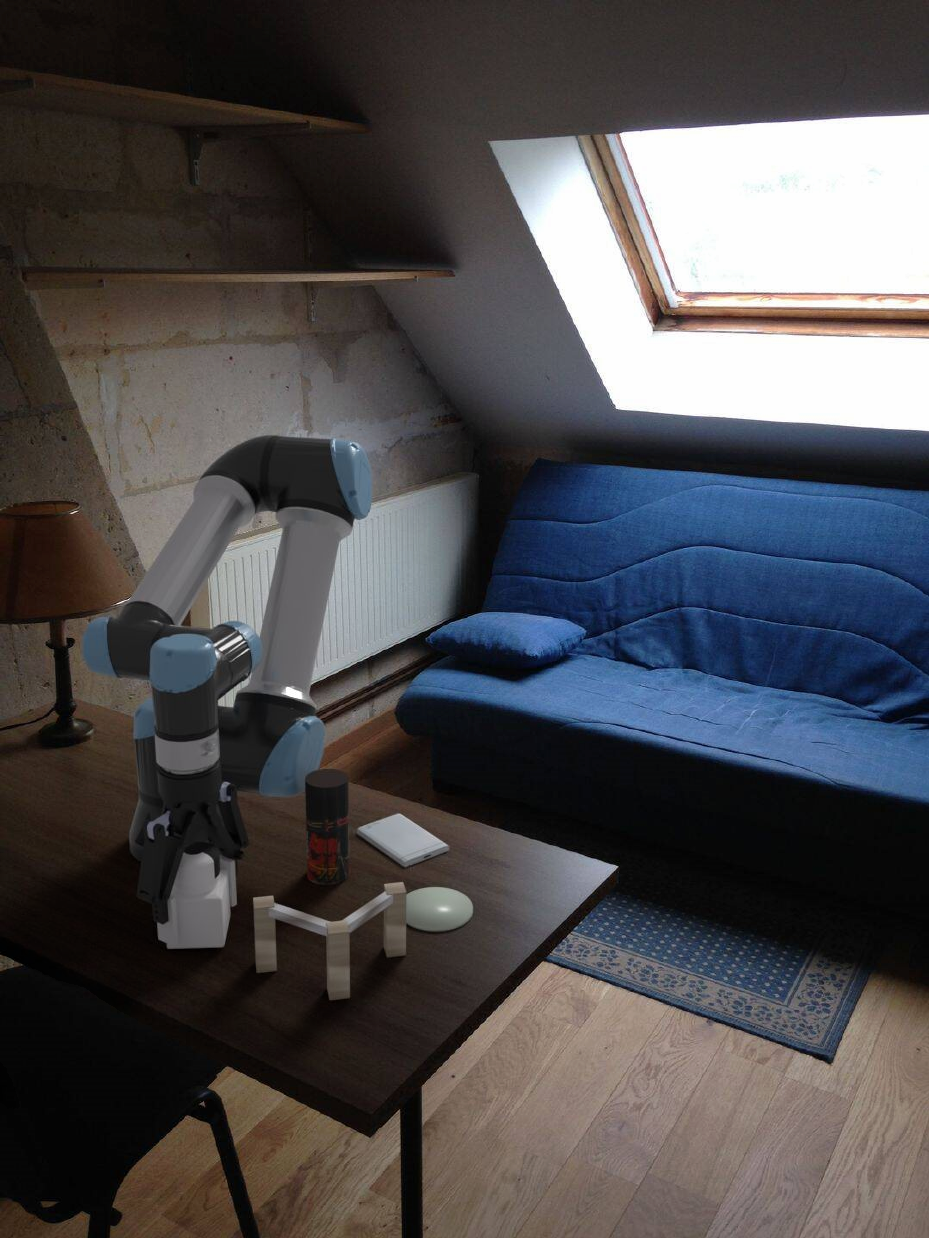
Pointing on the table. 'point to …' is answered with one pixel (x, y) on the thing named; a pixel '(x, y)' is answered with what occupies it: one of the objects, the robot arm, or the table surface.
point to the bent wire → (332, 933)
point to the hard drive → (402, 840)
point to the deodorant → (327, 826)
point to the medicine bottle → (201, 898)
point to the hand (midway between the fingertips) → (198, 921)
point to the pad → (437, 909)
